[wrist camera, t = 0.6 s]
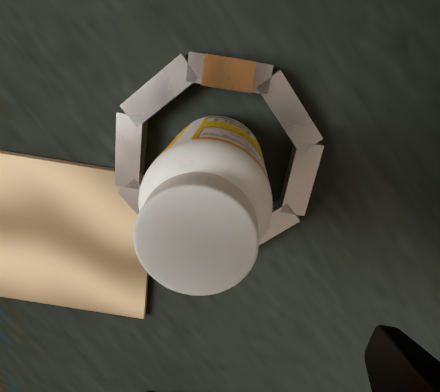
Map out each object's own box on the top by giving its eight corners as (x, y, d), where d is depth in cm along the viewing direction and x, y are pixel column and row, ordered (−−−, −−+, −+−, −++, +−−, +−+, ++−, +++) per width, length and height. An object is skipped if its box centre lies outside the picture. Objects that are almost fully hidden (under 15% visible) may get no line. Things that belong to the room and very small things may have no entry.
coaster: (145, 314, 23) (143, 318, 23) (-2, 290, 23) (-7, 295, 23) (156, 175, 19) (154, 177, 19) (-23, 146, 19) (-30, 148, 19)
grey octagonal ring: (287, 255, 21) (292, 275, 19) (120, 228, 21) (107, 245, 19) (336, 76, 17) (350, 77, 14) (126, 41, 16) (110, 37, 14)
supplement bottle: (245, 100, 17) (254, 135, 8) (273, 187, 19) (303, 291, 10) (157, 133, 18) (79, 194, 9) (191, 212, 20) (153, 327, 11)
